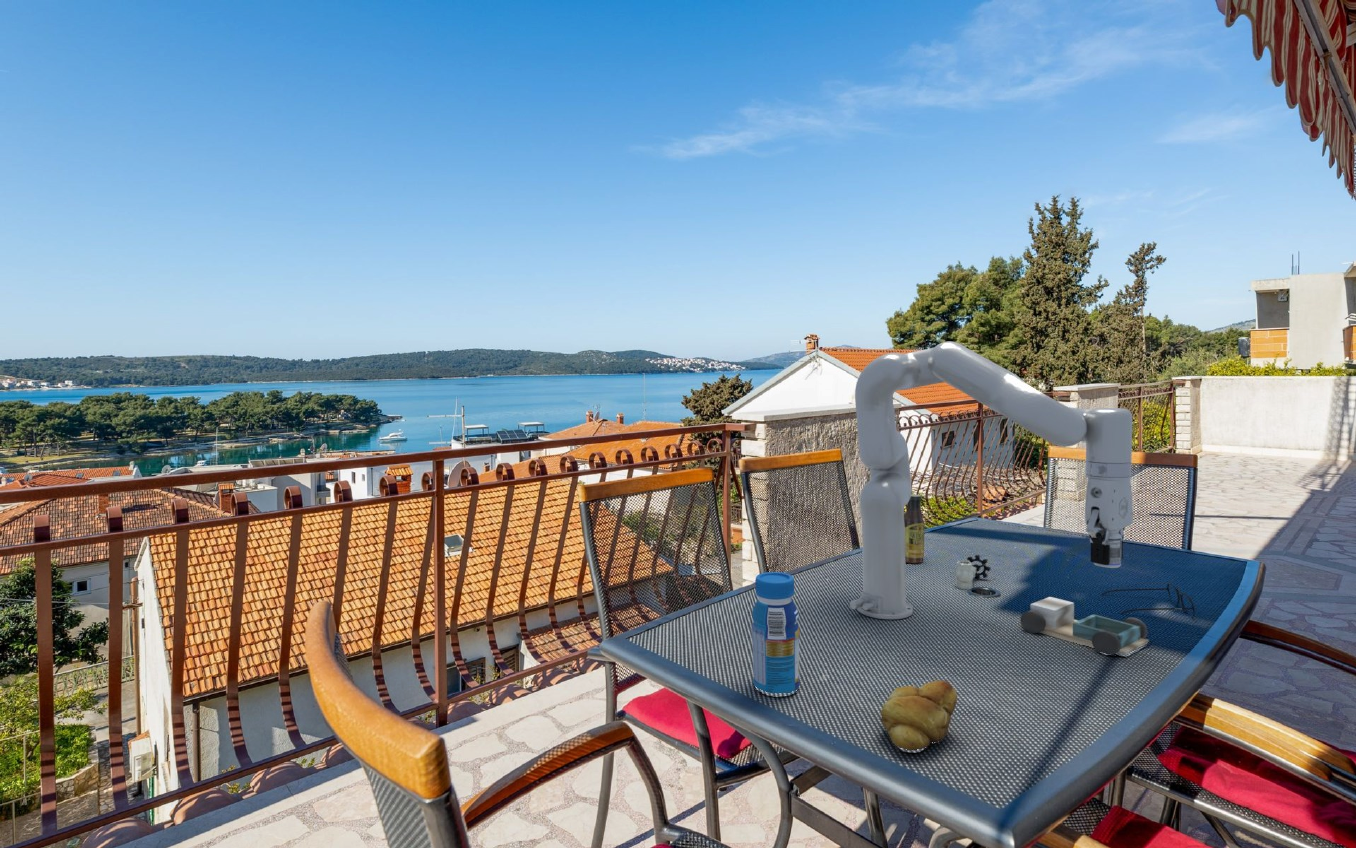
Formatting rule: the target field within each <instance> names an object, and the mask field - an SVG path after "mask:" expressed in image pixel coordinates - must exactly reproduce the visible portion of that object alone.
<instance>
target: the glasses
mask: <svg viewBox="0 0 1356 848" xmlns="http://www.w3.org/2000/svg"><path fill="white" fill-rule="evenodd" d="M1170 586H1171V587H1173V589H1174V590H1175V591H1176V594H1177V602H1176V605H1177V604H1178V605H1179V604H1180V603H1181V607H1162V608H1161V607H1159V608H1158V607H1157V608H1156V607H1153V608H1135V609H1134V608H1133V609H1128V610H1124V611H1122V612H1120V613H1119V614H1122V615H1124V614H1126V613H1128V612H1135V611H1158V610H1159V611H1161V610H1163V611H1169V610H1170V611H1171V610H1180V611H1181V610H1183V611H1184V610H1186V611H1187V610H1192V611H1193V616H1194V617H1195V616H1196V615H1195V613H1196V611H1195V605H1194V601H1193V600H1192V598H1191V597H1190V596H1189V595H1188V594H1186V593H1184V592H1182V591H1180V590H1179V589H1178V588H1177V587H1176V586H1175V585H1174V584H1172V583H1167V585H1166V587H1163V588H1124V589H1123V588H1122V589H1112V590H1107V591H1105V592H1103V593H1101V594H1102V595H1101V596H1103V595H1105V594H1108V593H1113V592H1123V591H1124V592H1125V591H1128V592H1129V591H1131V592H1132V591H1164V590H1165V591H1167V593H1168V597H1169V600H1170V599H1171V600H1172V597H1171V593H1170V592H1171V591H1170ZM1184 596H1185V597H1186V598H1187V599H1188V600H1189V601H1190V603H1191V604H1190V605H1191V607H1186V606H1185V603H1184V599H1183V597H1184ZM1193 616H1192V617H1193Z"/></svg>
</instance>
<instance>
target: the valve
mask: <svg viewBox="0 0 1356 848" xmlns="http://www.w3.org/2000/svg"><path fill="white" fill-rule="evenodd" d="M966 559H967V560H959V561H957V562H956V571H955V577H956V588H959V589H960V590H972V589H973V580H974V579H975V580H980V578H981V576H982V578H983V579H987V578H988V577H989V576H988V573H987V572H990V571H992V568H991V566H988V565H986V564H987V563H988V562H989V561H988V559H987V558H984V559H981V555H980V554H975V555H974V558H973V557H972V556H971V555H970V556H968V557H967V558H966ZM973 562H979V563H981V564H979V563H973ZM982 568H983V570H982V571H981V569H982ZM980 571H981V572H980Z"/></svg>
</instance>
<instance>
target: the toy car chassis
mask: <svg viewBox="0 0 1356 848" xmlns="http://www.w3.org/2000/svg"><path fill="white" fill-rule="evenodd" d="M1020 627H1021V628H1023V629H1024V630H1025V631H1027V632H1028V633H1030V634H1037V633H1040V634H1043V635H1047V636H1049V637H1053V638H1056V639H1060V640H1064V641H1066V642H1069V643H1073V642H1074V643H1073V644H1076V643H1077V645H1079V644H1080V645H1079V646H1082V645H1086V646H1089V647H1094V648H1095V649H1094V650H1095V651H1096V652H1097V653H1099V652H1103V653H1106V654H1111V656H1115V655H1114V654H1116V653H1119V654H1125V655H1126V654H1128V653H1129V652H1132V651H1134V650H1136V649H1137V648H1139V647H1141V646H1143V645H1145V644H1147V643H1148V642H1149V643H1150V639H1148V638H1146V637H1147V636H1148V633H1149V632H1148V631H1149V630H1148V627H1147V625H1146V623H1144V621H1142V620H1141V619H1140V618H1137V617H1133V616H1132V617H1128V618H1125V619H1123V620H1117V619H1112V618H1109V617H1105V616H1103V615H1102V616H1101V615H1099V614H1091V615H1088V616H1086V617H1085V618H1082V619H1079V620H1078V619H1075V602H1072V601H1069V600H1066V599H1062V598H1057V597H1053V596H1048V597H1045V598H1044V599H1043V598H1042V599H1040V600H1038V601H1035V602H1032V603H1030V610H1027V611H1025V612H1024V613H1022V614H1021V617H1020ZM1086 646H1085V647H1086ZM1089 647H1088V648H1089Z"/></svg>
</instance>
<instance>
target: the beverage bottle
mask: <svg viewBox="0 0 1356 848" xmlns="http://www.w3.org/2000/svg"><path fill="white" fill-rule="evenodd" d="M754 582H755V583H754V584H755V595H756V597H757V598H758V599H757V600H756V601H755V603H754V605H753V608H752V611H751V618H752V619H753V622H752V624H751V629H750V630H751V631H750V632H751V636H752V637H751V639H752V669H753V670H752V671H753V673H752V674H753V678H752V679H753V680H752V684H753V683H754V685H755V686H756V687H757V688H759V689H761V690H763V691H766V692H770V693H790V692H792V691H796V690H797V689H798V688H799V686H800V687H801V684H800V683H801V680H800V636H801V635H800V634H801V630H800V629H801V628H800V625H799V623H798V620H799V618H800V614H799V611H798V608H797V606H796V604H795V602H794V600H793V597H794V595H795V579H794V576H793V575H791V574H789V573H786V572H781V571H780V572H779V571H769V572H768V571H767V572H761V573H759V574H757V575H756V576H755V581H754ZM754 685H753V686H754ZM799 689H800V688H799Z"/></svg>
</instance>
